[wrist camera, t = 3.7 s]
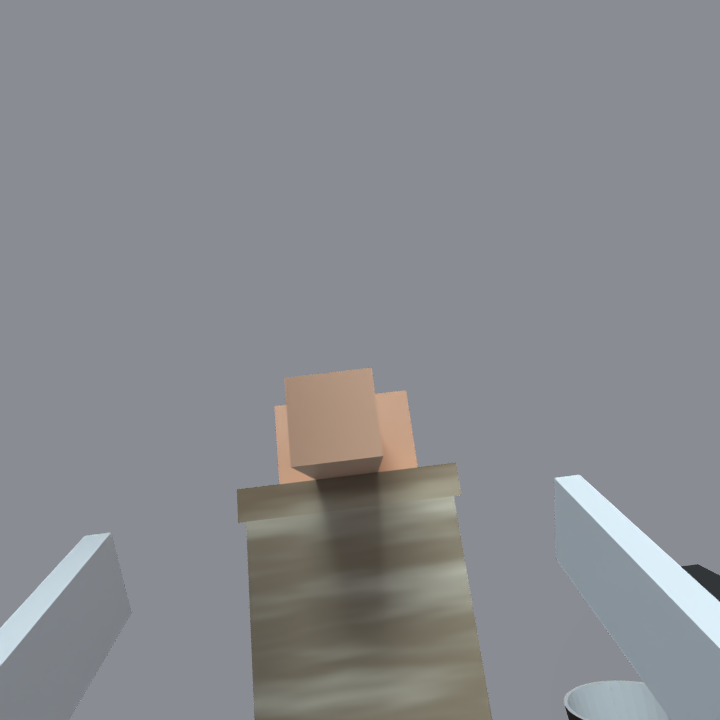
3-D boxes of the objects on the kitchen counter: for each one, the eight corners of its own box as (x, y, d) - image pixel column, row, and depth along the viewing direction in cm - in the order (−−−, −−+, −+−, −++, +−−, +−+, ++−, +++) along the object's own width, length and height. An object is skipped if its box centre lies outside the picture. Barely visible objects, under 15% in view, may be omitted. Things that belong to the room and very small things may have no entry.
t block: (451, 447, 20) (429, 319, 22) (221, 475, 20) (217, 344, 22) (410, 476, 39) (400, 406, 41) (292, 490, 39) (287, 420, 41)
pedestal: (565, 1082, 21) (455, 462, 30) (260, 1128, 21) (237, 489, 29) (496, 880, 33) (431, 474, 41) (298, 908, 32) (273, 494, 41)
